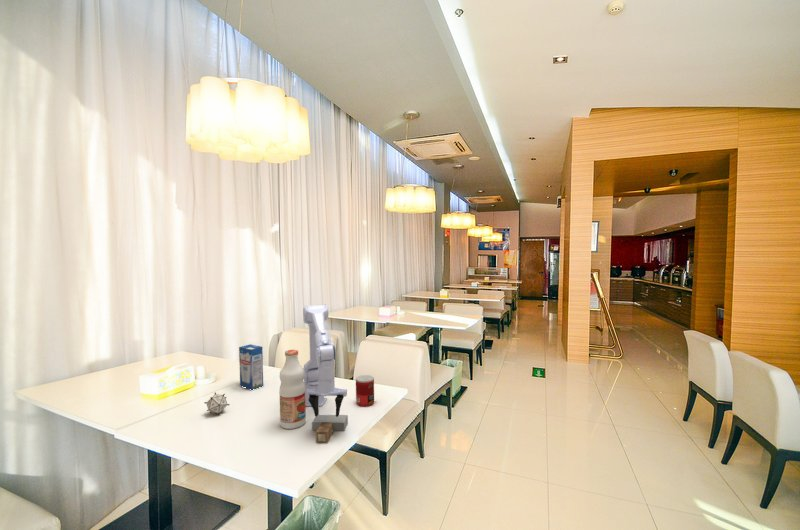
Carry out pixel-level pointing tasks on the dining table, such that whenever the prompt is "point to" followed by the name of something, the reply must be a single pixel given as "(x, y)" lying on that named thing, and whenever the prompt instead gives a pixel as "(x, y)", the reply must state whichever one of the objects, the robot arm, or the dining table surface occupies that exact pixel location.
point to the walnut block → (324, 432)
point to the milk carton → (251, 366)
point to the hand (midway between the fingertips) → (327, 415)
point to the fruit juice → (292, 392)
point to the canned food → (365, 390)
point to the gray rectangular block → (338, 422)
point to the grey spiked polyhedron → (216, 403)
